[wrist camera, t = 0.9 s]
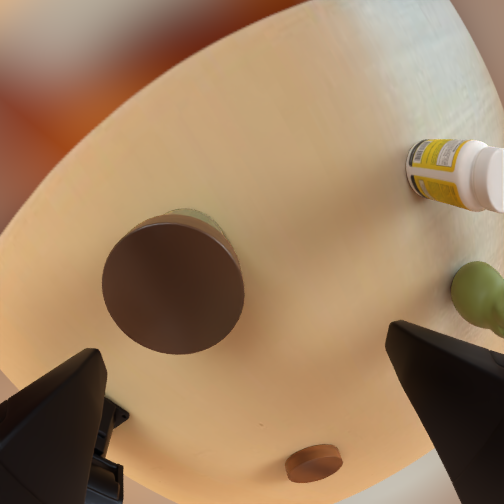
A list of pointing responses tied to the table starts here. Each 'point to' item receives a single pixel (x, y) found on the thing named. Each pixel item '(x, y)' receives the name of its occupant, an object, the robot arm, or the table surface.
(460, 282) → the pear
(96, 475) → the robot arm
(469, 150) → the supplement bottle
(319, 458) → the teak chip
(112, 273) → the walnut chip
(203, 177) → the table surface
